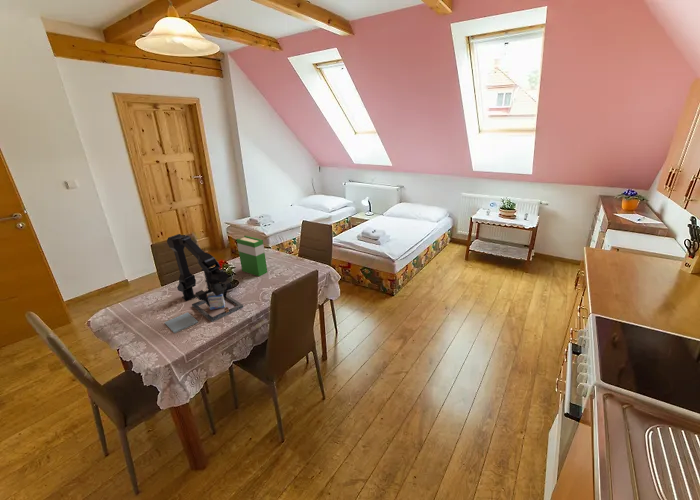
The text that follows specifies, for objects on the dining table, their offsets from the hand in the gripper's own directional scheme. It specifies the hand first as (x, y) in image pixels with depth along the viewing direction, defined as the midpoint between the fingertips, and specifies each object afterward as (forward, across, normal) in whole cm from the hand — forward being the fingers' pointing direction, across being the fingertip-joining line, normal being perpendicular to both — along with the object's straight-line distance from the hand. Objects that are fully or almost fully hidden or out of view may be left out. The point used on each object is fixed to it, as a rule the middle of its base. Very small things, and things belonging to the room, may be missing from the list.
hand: (216, 303), depth 180 cm
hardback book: (+3, +39, +24) cm, 46 cm away
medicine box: (+3, 0, 0) cm, 3 cm away
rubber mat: (+2, -20, 0) cm, 20 cm away
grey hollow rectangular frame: (+2, 0, 0) cm, 2 cm away
